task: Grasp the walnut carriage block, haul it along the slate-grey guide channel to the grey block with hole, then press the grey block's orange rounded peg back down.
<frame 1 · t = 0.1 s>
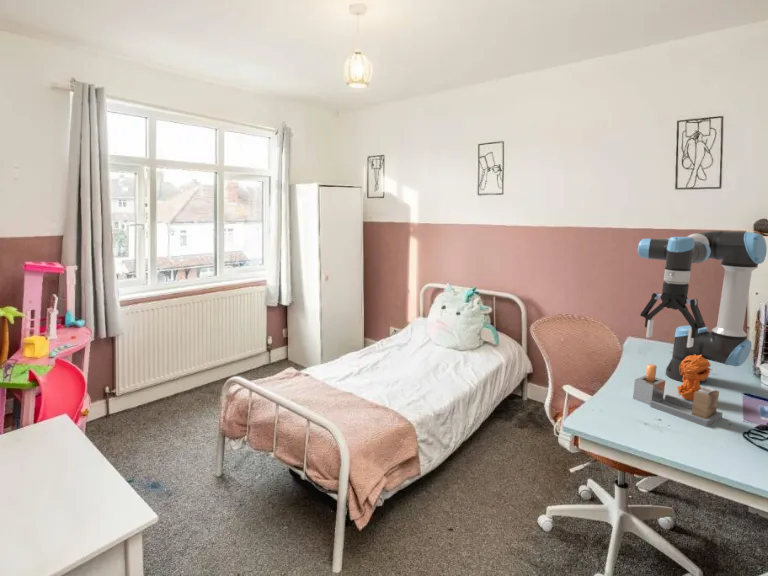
hand: (668, 341, 163), 28 cm above the table, fingers open, 13 cm apart
grey block with hole: (647, 399, 182), on the table
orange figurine: (690, 398, 184), on the table
guide channel: (683, 411, 172), on the table
carriage: (705, 404, 165), point 6 cm above the table, slide at 0.0 cm
orange rounded peg: (651, 373, 180), point 11 cm above the table, slide at 0.0 cm
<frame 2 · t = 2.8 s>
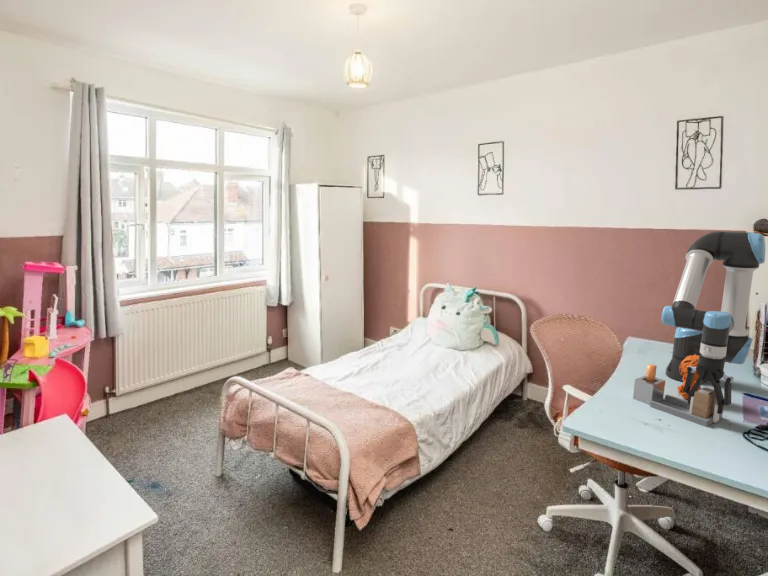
hand: (703, 417, 166), 1 cm above the table, fingers open, 7 cm apart
nothing on the table moved.
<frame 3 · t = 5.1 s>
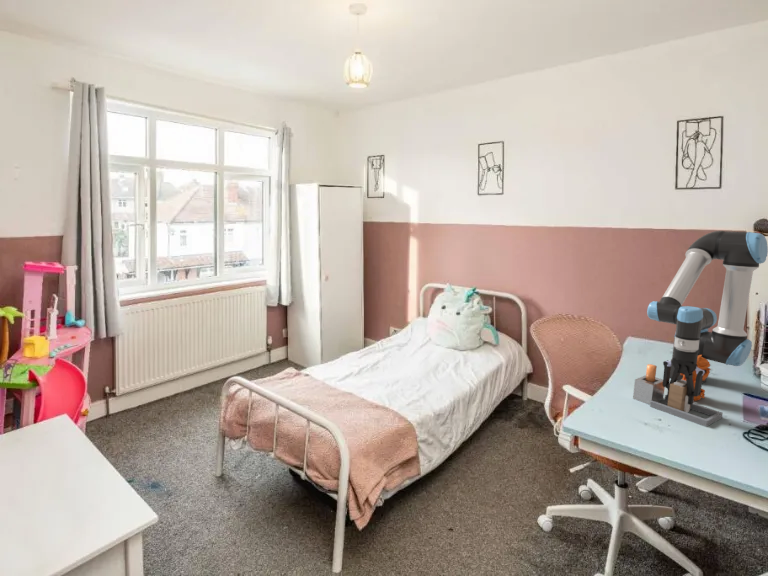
hand: (678, 409, 173), 0 cm above the table, fingers closed on carriage, 5 cm apart
carriage: (680, 395, 172), point 6 cm above the table, slide at 8.3 cm, touching gripper
everything else where it was.
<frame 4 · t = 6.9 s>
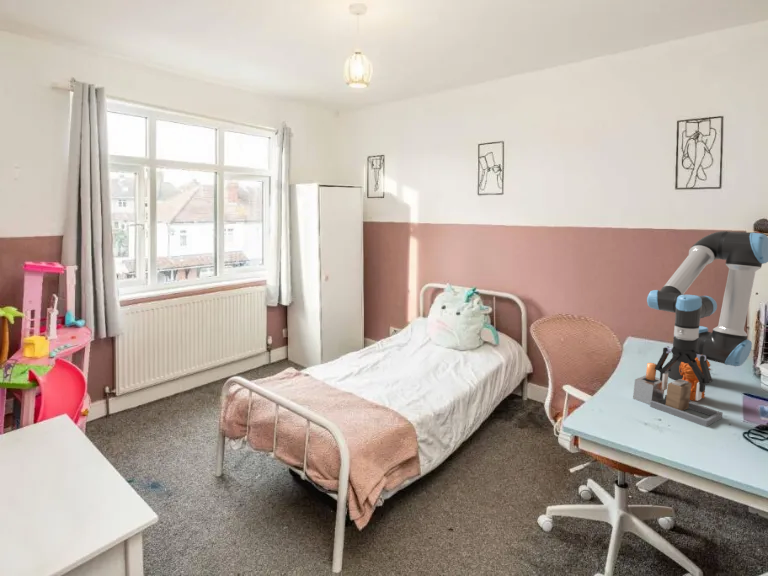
hand: (680, 394, 173), 6 cm above the table, fingers open, 11 cm apart
carriage: (678, 395, 173), point 6 cm above the table, slide at 8.9 cm
orange rounded peg: (651, 371, 180), point 11 cm above the table, slide at -0.6 cm, touching gripper, hand
everything else where it was.
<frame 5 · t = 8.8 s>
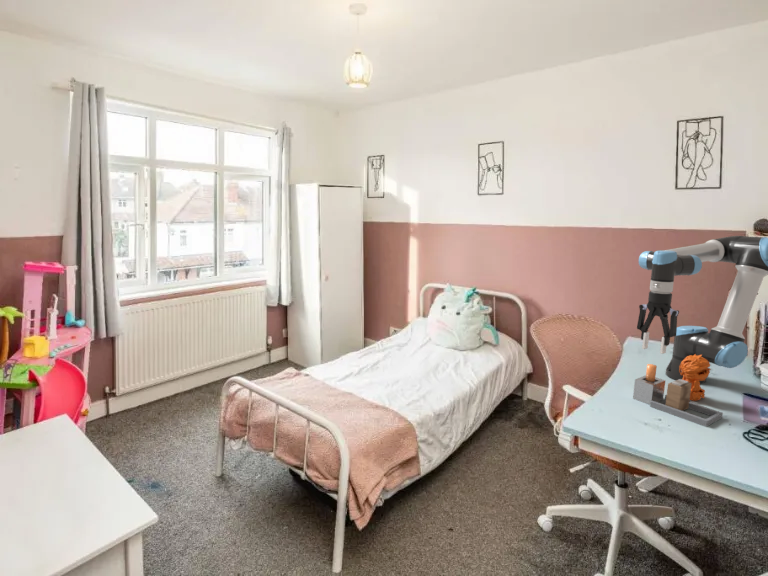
hand: (653, 350, 179), 20 cm above the table, fingers open, 6 cm apart
orange rounded peg: (651, 372, 180), point 11 cm above the table, slide at -0.1 cm
everything else where it was.
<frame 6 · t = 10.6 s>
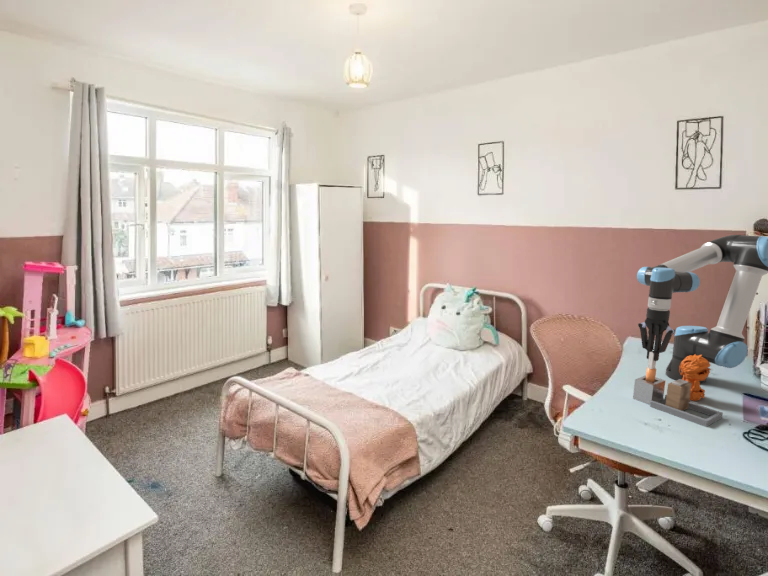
hand: (651, 367, 180), 13 cm above the table, fingers closed
orange rounded peg: (650, 375, 181), point 10 cm above the table, slide at 1.2 cm, touching gripper
everything else where it was.
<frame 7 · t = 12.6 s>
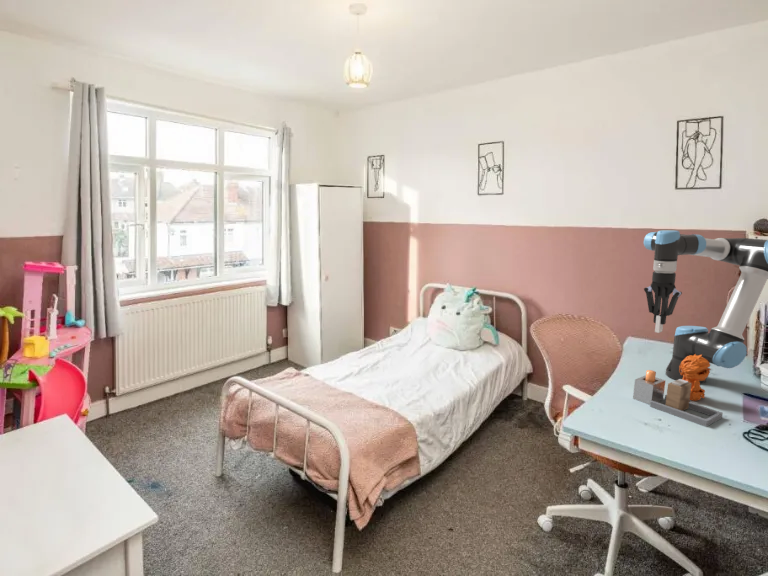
hand: (658, 331, 180), 27 cm above the table, fingers closed
orange rounded peg: (650, 378, 181), point 8 cm above the table, slide at 2.4 cm
everything else where it was.
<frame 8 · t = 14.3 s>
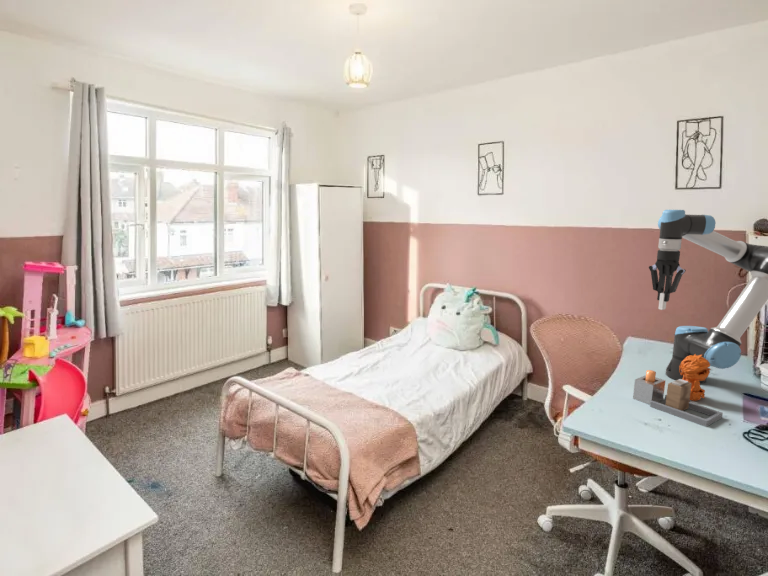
hand: (661, 309, 184), 34 cm above the table, fingers closed
nothing on the table moved.
at the end: carriage slide at 8.9 cm; orange rounded peg slide at 2.4 cm; the gripper is holding nothing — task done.
